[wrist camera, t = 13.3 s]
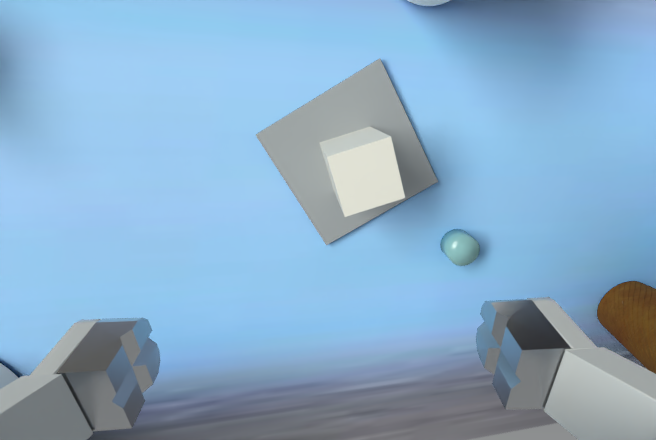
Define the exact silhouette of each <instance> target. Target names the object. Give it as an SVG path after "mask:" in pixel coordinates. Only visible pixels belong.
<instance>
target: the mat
mask: <svg viewBox="0 0 656 440" xmlns="http://www.w3.org/2000/svg"><path fill="white" fill-rule="evenodd" d="M367 127H372V128H374V129H376V130H379V131H381V132H383V133H385V134H387V135H389V136H391V139H392V143H393V147H394V152H395V156H396V160H397V165H398V169H399V173H400V177H401V182H402V186H403V190H404V195H405V198H404V199H400V200H397V201H394V202H391V203H388V204H385V205H381V206H378V207H375V208H372V209H369V210H366V211H362V212H359V213H356V214H353V215H350V216H347V217H345V216H344V214H343V211H342V209H341V207H340V204H339V202H338V199H337V197H336V195H335V192H334V189H333V186H332V183H331V179H330V176H329V173H328V170H327V166H326V163H325V160H324V157H323V153H322V150H321V147H320V142H323V141H326V140H329V139H332V138H336V137H339V136H342V135H345V134H348V133H351V132H354V131H357V130H361V129H364V128H367ZM256 136H257V138H258V139H259V141H260V142H261V144H262V146H263V147H264V149H265V150H266V152H267V153H268V155H269V156H270V158H271V160H272V161H273V163H274V164H275V166H276V167H277V169H278V170H279V172H280V174H281V175H282V177H283V178H284V180H285V181H286V183H287V184H288V186H289V188H290V189H291V191H292V192H293V194H294V195H295V197H296V198H297V200H298V202H299V203H300V205H301V206H302V208H303V209H304V211H305V212H306V214H307V216H308V217H309V219H310V220H311V222H312V223H313V225H314V227H315V228H316V230H317V231H318V233H319V234H320V236H321V237H322V239H323V241H324V242H325V244H326V245H328V244H329V243H331V242H333V241H335V240H336V239H338V238H340V237H342V236H343V235H345V234H347V233H349V232H350V231H352V230H354V229H356V228H357V227H359V226H361V225H363V224H364V223H366V222H368V221H370V220H372V219H373V218H375V217H377V216H379V215H380V214H382V213H384V212H386V211H387V210H389V209H391V208H393V207H394V206H396V205H398V204H400V203H401V202H403V201H405V200H407V199H408V198H410V197H412V196H414V195H415V194H417V193H419V192H421V191H422V190H424V189H426V188H428V187H430V186H431V185H433V184H435V183H437V182H438V180H437V178H436V176H435V174H434V172H433V170H432V168H431V165H430V163H429V161H428V159H427V157H426V155H425V153H424V151H423V148H422V146H421V144H420V142H419V140H418V138H417V136H416V134H415V131H414V129H413V127H412V125H411V123H410V121H409V119H408V117H407V114H406V112H405V110H404V108H403V106H402V104H401V102H400V100H399V97H398V95H397V93H396V91H395V89H394V87H393V85H392V83H391V80H390V78H389V76H388V74H387V72H386V70H385V68H384V66H383V64H382V61H381V59H378V60H376V61H375V62H373V63H371V64H370V65H368V66H366V67H365V68H363V69H362V70H360V71H358V72H357V73H355V74H353V75H352V76H350V77H349V78H347V79H345V80H344V81H342V82H340V83H339V84H337V85H336V86H334V87H332V88H331V89H329V90H327V91H326V92H324V93H323V94H321V95H319V96H318V97H316V98H314V99H313V100H311V101H310V102H308V103H306V104H305V105H303V106H301V107H300V108H298V109H297V110H295V111H293V112H292V113H290V114H288V115H287V116H285V117H284V118H282V119H280V120H279V121H277V122H275V123H274V124H272V125H271V126H269V127H267V128H266V129H264V130H262V131H261V132H259V133H257V134H256Z"/></svg>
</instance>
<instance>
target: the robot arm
mask: <svg viewBox="0 0 656 440" xmlns="http://www.w3.org/2000/svg"><path fill="white" fill-rule="evenodd" d="M480 315H481V316H482V318H483V320H484V322H483V323H482V324H481V325H480V326H479V327H478V328H477V335H476V344H477V351H478V355H479V358H480V360H481V362H482V364H483V366H484V368H485V369H487V370H488V371H489V372H491V373H492V374H493V375H494V378H493V383H492V384H493V386H494V388H495V390H496V392H497V394H498V396H499V398H500V400H501V402H502V404H503V406H504V408H505V410H515V409H544V411H545V412H546V413H547V414H548V415H549V416H550V417H552V418H553V419H554V420H555V421H556V422H558V423H559V424H560V425H561V426H562V427H563V428H565V429H566V430H567V431H568V432H569V433H571V434H572V435H573V436H574V437H575V438H576V439H578V440H656V374H655V373H653V372H651V371H649V370H647V369H645V368H643V367H641V366H640V365H638V364H636V363H634V362H632V361H630V360H628V359H626V358H624V357H622V356H620V355H618V354H616V353H614V352H612V351H610V350H608V349H607V348H605V347H602V348H597V347H596V346H595V345H594V343H593V342H592V341H591V340H590V339H589V338H588V337H587V336H586V335H585V334H584V332H583V331H582V330H581V329H580V328H579V327H578V326H577V325H576V324H575V323H574V321H573V320H572V319H571V318H570V317H569V316H568V315H567V314H566V313H565V312H564V310H563V309H562V308H561V307H560V306H559V305H558V304H557V303H556V302H555V301H554V300H553V299H551V298H549V297H541V298H527V299H516V300H498V301H485V302H484V304H483V305H482V308H481V313H480ZM151 331H152V329H151V326H150V324H149V321H148V320H147V319H144V318H117V319H93V320H80V321H78V322H76V323H74V324H73V326H72V327H71V328H70V329H69V330H68V331H67V333H66V334H65V335H64V336H63V337H62V338H61V340H60V341H59V342H58V343H57V344H56V345H55V346H54V348H53V349H52V350H51V351H50V352H49V353H48V355H47V356H46V357H45V358H44V359H43V360H42V362H41V363H40V364H39V365H38V366H37V367H36V369H35V370H34V371H33V372H32V373H31V374H30V376H21V377H20V378H18V377H17V376H16V375H15V374H14V373H13V372H12V371H11V370H9V369H8V368H7V367H5V366H4V365H2V364H1V363H0V440H87V439H88V438H89V437H90V436H91V435H92V434H93V432H92V431H104V430H117V429H129V428H132V427H133V425H134V423H135V421H136V419H137V417H138V415H139V413H140V411H141V408H142V406H143V404H144V402H145V399H144V396H143V392H144V391H145V390H147V389H148V388H149V387H150V386H151V385H153V383H154V381H155V379H156V376H157V374H158V370H159V365H160V353H159V349H158V346H157V344H156V343H155V342H154V341H152V340H151V339H150V338H148V337H149V335H150V333H151Z"/></svg>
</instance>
